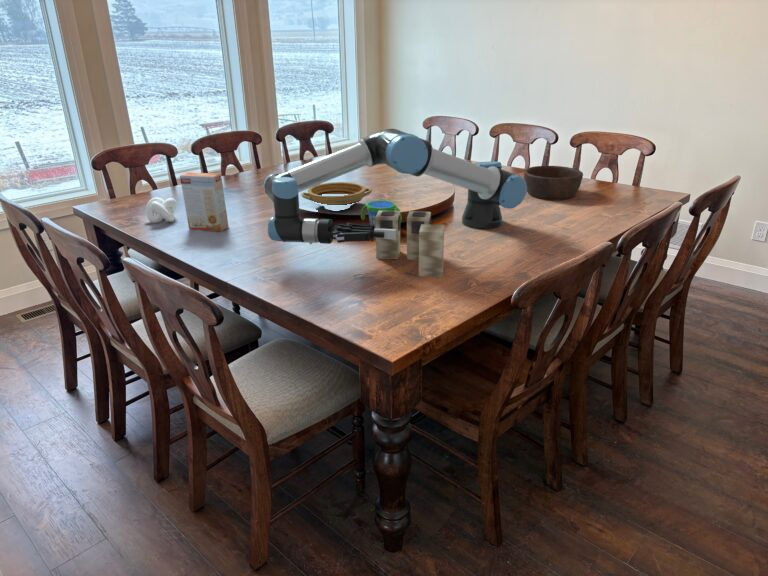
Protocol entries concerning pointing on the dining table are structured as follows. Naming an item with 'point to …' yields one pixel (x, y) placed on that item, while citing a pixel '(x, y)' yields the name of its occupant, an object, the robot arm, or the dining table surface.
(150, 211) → the white knot sculpture
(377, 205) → the snack cup
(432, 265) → the plain block
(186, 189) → the cracker box
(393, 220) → the marked block 2
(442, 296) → the dining table surface
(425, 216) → the marked block 1
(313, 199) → the collapsible colander
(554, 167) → the wooden bowl
